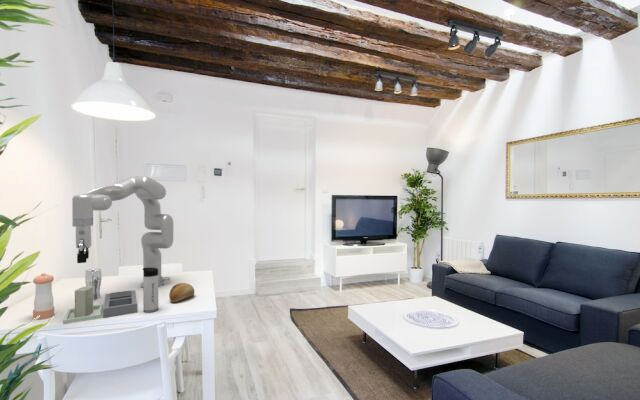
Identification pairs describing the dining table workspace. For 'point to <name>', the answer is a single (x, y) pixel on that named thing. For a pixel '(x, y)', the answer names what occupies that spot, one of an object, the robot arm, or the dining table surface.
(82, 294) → the skincare box
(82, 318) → the tray
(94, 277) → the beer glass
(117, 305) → the socket strip
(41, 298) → the salt shaker
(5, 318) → the dining table surface
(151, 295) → the travel mug
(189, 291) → the bread roll
